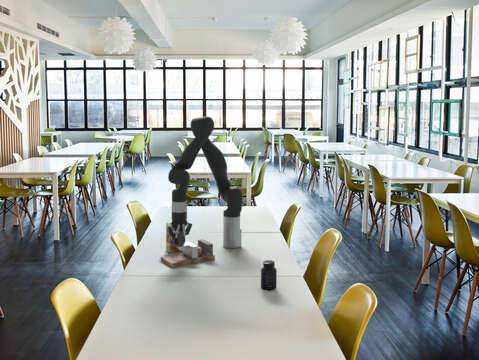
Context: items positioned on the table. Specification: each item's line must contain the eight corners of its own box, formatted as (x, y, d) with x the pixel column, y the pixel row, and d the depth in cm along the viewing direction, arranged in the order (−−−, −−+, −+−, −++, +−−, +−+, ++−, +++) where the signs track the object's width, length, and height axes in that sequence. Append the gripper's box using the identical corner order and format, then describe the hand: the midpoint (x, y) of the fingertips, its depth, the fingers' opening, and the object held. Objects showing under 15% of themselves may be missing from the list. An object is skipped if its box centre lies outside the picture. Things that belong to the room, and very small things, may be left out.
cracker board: (202, 253, 271) (202, 238, 270) (214, 259, 261) (214, 244, 260) (161, 261, 258) (160, 245, 256) (172, 267, 248) (171, 251, 246)
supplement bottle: (259, 285, 226) (260, 259, 224) (275, 285, 226) (275, 259, 224) (261, 291, 219) (262, 264, 217) (277, 291, 219) (278, 264, 217)
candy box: (169, 253, 271) (169, 224, 268) (165, 250, 274) (165, 223, 272) (184, 250, 276) (184, 222, 273) (180, 248, 279) (180, 221, 277)
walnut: (198, 252, 265) (198, 246, 264) (203, 255, 261) (203, 248, 261) (191, 254, 262) (191, 247, 262) (195, 256, 259) (195, 249, 258)
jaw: (188, 252, 265) (187, 226, 262) (197, 257, 256) (197, 230, 254) (172, 255, 260) (172, 228, 257) (181, 260, 251) (181, 232, 249)
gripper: (188, 207, 259) (188, 240, 262) (162, 210, 252) (163, 244, 254) (195, 210, 253) (195, 244, 256) (169, 213, 245) (170, 248, 248)
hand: (179, 244), depth 255 cm, fingers closed on jaw, 3 cm apart
